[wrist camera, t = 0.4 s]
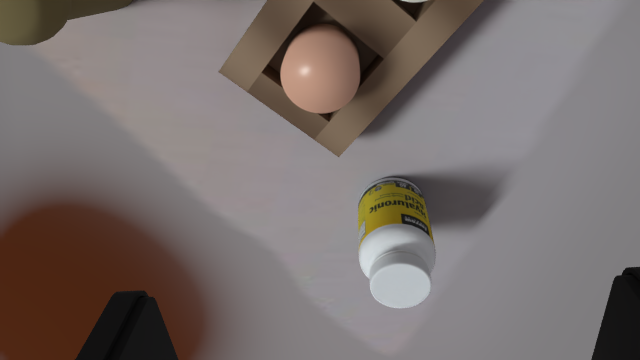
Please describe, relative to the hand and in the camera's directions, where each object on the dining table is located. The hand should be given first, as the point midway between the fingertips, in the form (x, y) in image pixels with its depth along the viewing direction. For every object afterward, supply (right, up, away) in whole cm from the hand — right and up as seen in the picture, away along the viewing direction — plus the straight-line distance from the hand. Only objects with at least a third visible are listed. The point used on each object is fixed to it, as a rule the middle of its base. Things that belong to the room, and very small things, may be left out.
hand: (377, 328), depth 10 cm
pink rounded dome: (-1, +11, +21) cm, 24 cm away
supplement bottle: (+5, +1, +30) cm, 30 cm away
